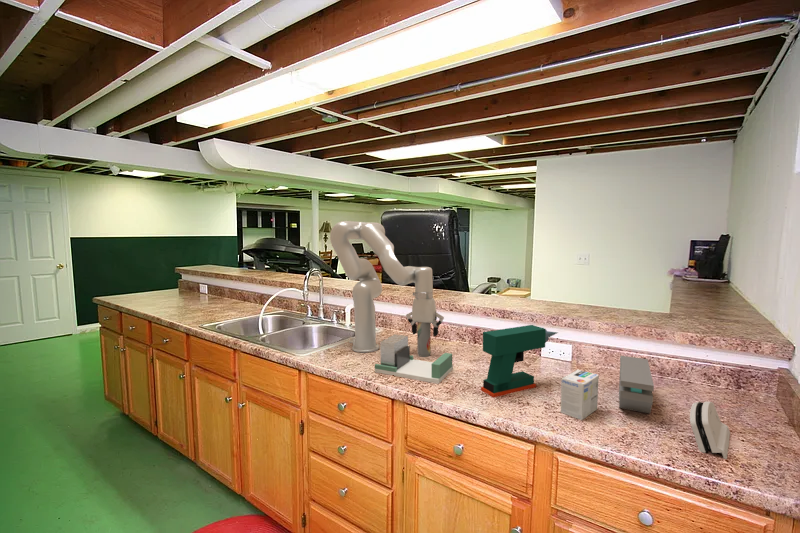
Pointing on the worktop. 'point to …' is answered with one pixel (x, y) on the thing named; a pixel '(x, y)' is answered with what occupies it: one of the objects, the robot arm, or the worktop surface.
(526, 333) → the power tool
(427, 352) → the lotion bottle
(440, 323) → the robot arm
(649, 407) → the gray lidded box
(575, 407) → the light bulb box
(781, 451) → the worktop surface
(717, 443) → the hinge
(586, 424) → the worktop surface
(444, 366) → the frame
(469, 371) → the worktop surface
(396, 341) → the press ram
